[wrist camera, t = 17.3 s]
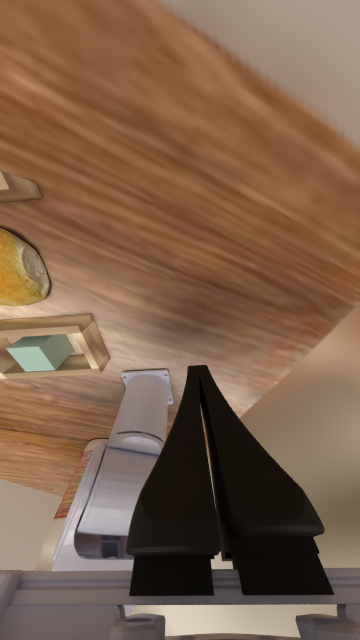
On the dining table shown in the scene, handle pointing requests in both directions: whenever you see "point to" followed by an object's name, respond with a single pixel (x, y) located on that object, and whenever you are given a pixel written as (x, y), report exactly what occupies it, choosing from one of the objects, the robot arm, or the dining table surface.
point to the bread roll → (20, 272)
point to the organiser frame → (82, 326)
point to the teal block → (41, 352)
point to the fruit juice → (64, 509)
